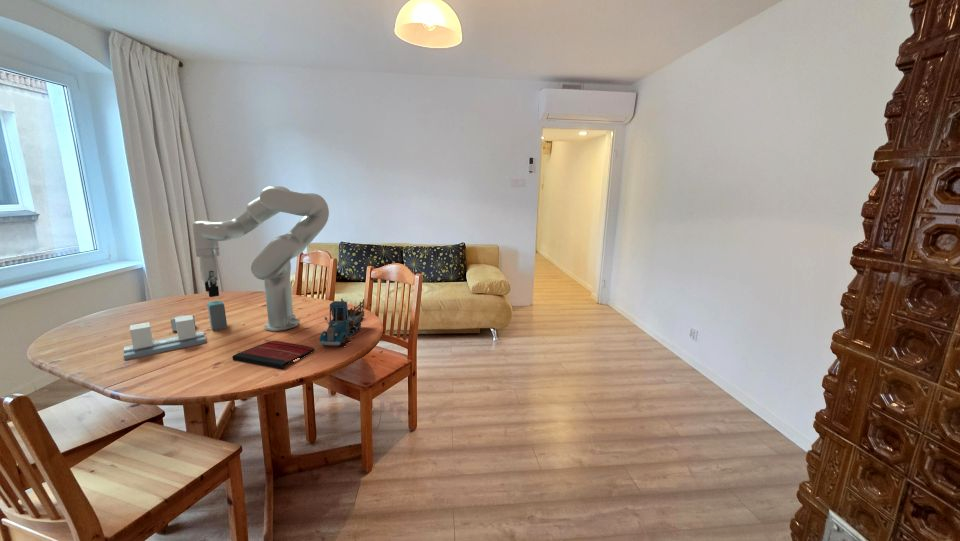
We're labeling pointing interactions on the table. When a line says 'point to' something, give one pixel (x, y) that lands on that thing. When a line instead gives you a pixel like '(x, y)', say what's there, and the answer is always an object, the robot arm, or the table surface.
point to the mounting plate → (163, 347)
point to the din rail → (163, 342)
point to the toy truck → (342, 323)
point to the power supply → (175, 322)
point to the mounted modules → (144, 336)
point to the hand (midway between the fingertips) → (212, 293)
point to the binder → (273, 354)
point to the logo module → (217, 315)
